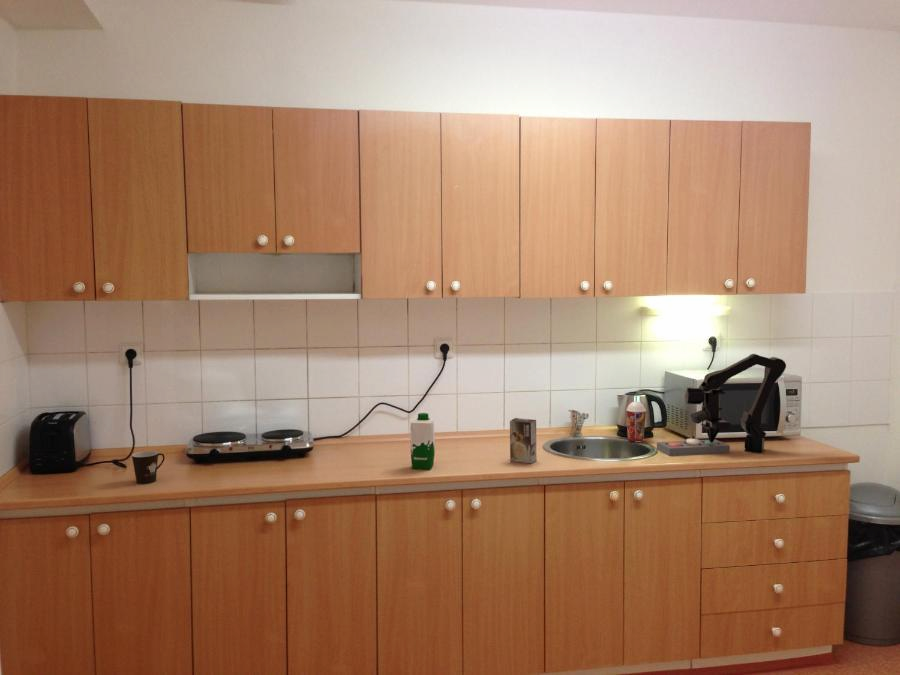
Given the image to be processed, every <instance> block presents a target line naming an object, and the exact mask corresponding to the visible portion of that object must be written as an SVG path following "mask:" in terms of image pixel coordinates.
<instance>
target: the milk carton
mask: <svg viewBox="0 0 900 675" xmlns="http://www.w3.org/2000/svg"><path fill="white" fill-rule="evenodd" d="M409 428H410V459H411V460H410V461H411V462H410V463H411V470H419V471H420V470H421V471H422V470H423V471H425V470H426V471H430V470H431V469H432V468H433V467H434V463H435V461H434V460H435V451H436V450H435V449H436V448H435V438H436V437H435V419H434V418H429V413H428V412H420V413H417V418H416V417H415V418H413V419H412V420H411V422H410V427H409Z"/></svg>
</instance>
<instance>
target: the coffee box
mask: <svg viewBox="0 0 900 675" xmlns="http://www.w3.org/2000/svg"><path fill="white" fill-rule="evenodd" d="M509 457H510V458H509V460H510V462H516V463H525V464H533V463H534V462H536V461H537V460H538V459H537V457H538V456H537V420H536V419H532V418H531V419H530V418H518V417H514V418H513V419H510V420H509Z"/></svg>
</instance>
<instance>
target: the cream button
mask: <svg viewBox="0 0 900 675" xmlns="http://www.w3.org/2000/svg"><path fill="white" fill-rule="evenodd" d="M699 440H700V439H697V438H686V440H685V441H686V444H687V445H689V446H696V445H699Z"/></svg>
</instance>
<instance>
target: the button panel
mask: <svg viewBox="0 0 900 675" xmlns="http://www.w3.org/2000/svg"><path fill="white" fill-rule="evenodd" d="M698 440H699V445H696V446H689V445H687V444H686V440H675V441H657V442H656V450H657V451H659V452H662V453H663V454H665V455H667V456H669V457H675V456H677V457H678V456H690V455H691V456H693V455H696V456H697V455H712V453H716V454H728V453H729V454H730V452H731V451H730V450H731V448H730V447H731V445H729V444H728V443H725V442H723V441H720V440H718V439H716V438H715V439H714V441H716V442H718V444H716V445H707V444H705V441H709V439H698ZM670 442H676V443H680V444H681V446H676V447H671V446H669V445H668V443H670Z"/></svg>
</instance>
